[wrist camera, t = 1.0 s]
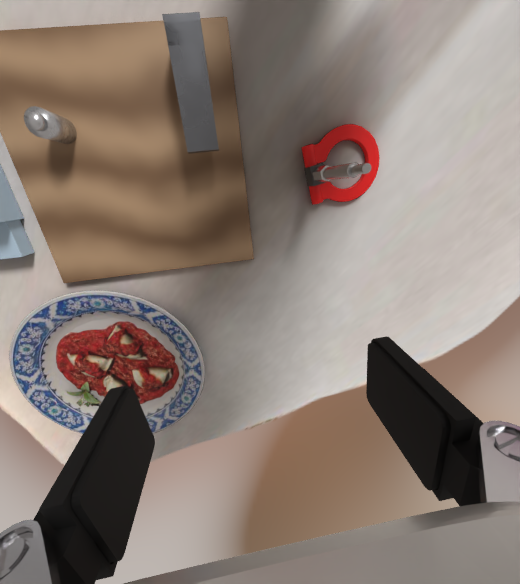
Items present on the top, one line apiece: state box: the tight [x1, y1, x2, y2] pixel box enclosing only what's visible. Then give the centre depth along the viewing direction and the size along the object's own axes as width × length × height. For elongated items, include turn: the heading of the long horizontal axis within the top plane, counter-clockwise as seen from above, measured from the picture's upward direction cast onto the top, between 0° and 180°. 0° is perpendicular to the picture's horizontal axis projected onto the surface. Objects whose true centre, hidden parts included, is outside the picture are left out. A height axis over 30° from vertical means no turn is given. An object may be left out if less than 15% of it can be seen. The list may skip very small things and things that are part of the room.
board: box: [0, 17, 254, 283], centre depth 29 cm, size 24×24×1 cm
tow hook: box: [302, 124, 379, 204], centre depth 26 cm, size 8×13×9 cm
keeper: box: [162, 12, 219, 154], centre depth 25 cm, size 10×3×4 cm, turn 6°
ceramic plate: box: [9, 291, 205, 434], centre depth 38 cm, size 26×26×3 cm
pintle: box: [24, 106, 77, 144], centre depth 25 cm, size 2×2×5 cm
